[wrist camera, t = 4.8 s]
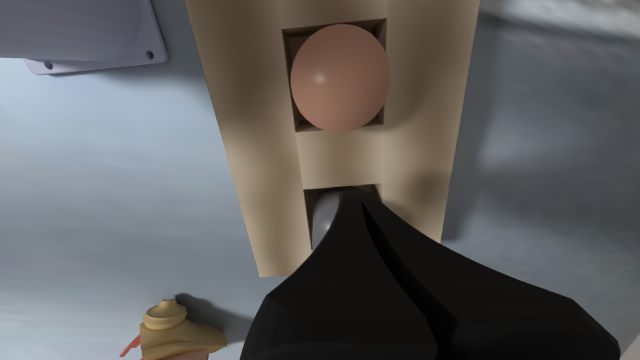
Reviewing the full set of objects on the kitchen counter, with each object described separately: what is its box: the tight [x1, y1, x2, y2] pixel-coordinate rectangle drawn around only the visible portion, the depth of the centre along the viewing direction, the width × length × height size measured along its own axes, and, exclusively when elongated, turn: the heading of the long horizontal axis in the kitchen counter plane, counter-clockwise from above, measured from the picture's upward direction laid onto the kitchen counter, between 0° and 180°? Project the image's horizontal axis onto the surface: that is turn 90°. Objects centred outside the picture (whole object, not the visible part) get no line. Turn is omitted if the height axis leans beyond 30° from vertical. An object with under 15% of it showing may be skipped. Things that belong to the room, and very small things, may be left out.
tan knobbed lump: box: [120, 299, 227, 360], centre depth 25 cm, size 9×10×10 cm
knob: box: [312, 186, 365, 251], centre depth 16 cm, size 4×4×4 cm
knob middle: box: [291, 24, 391, 132], centre depth 12 cm, size 4×4×4 cm
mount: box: [184, 0, 480, 277], centre depth 15 cm, size 14×28×4 cm, turn 5°
